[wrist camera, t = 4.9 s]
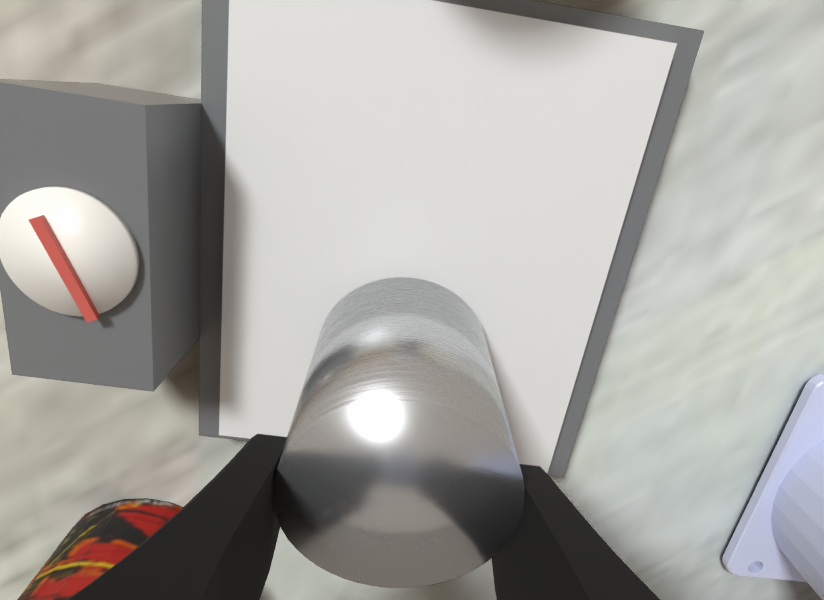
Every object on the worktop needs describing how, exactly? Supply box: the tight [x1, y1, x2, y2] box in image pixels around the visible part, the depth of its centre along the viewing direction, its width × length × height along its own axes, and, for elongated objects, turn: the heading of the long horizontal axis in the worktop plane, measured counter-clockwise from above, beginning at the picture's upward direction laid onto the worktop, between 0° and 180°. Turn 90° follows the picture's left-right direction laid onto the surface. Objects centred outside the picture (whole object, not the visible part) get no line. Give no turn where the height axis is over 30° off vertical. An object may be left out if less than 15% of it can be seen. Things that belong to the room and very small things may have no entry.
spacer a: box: [273, 277, 525, 588], centre depth 11 cm, size 4×4×5 cm
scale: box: [0, 0, 704, 477], centre depth 12 cm, size 14×12×4 cm
